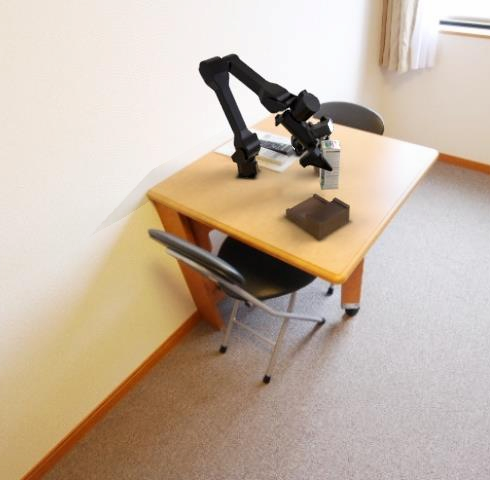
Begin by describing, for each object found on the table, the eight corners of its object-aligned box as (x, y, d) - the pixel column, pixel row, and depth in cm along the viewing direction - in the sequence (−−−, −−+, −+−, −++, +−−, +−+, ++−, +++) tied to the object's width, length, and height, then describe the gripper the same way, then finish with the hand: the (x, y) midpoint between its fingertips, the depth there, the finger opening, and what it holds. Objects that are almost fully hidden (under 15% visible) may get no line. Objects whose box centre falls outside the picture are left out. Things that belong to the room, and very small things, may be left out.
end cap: (314, 144, 145) (314, 128, 140) (320, 152, 140) (320, 136, 135) (291, 148, 142) (290, 132, 138) (296, 156, 137) (295, 140, 133)
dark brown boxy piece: (286, 217, 109) (284, 201, 105) (315, 200, 115) (315, 185, 111) (319, 240, 101) (319, 224, 97) (348, 221, 107) (349, 205, 103)
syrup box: (319, 180, 117) (319, 140, 107) (336, 179, 117) (338, 139, 107) (320, 190, 112) (321, 149, 103) (339, 189, 113) (341, 148, 103)
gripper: (309, 124, 92) (348, 165, 98) (324, 98, 106) (357, 136, 111) (282, 148, 99) (320, 186, 105) (299, 121, 113) (332, 155, 118)
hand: (333, 164), depth 109 cm, fingers closed on syrup box, 7 cm apart
